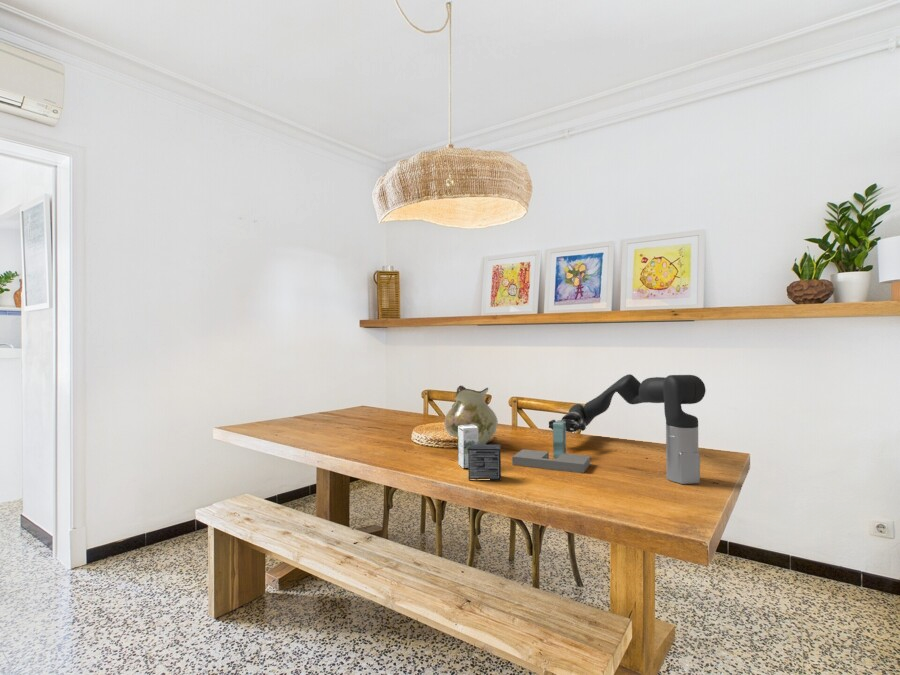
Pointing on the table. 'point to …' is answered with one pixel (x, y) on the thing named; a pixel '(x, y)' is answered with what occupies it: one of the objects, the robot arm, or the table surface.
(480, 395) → the pitcher
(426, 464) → the table surface
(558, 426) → the mint green pillar
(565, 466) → the slotted block
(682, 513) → the table surface
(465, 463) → the syrup box
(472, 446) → the small box
